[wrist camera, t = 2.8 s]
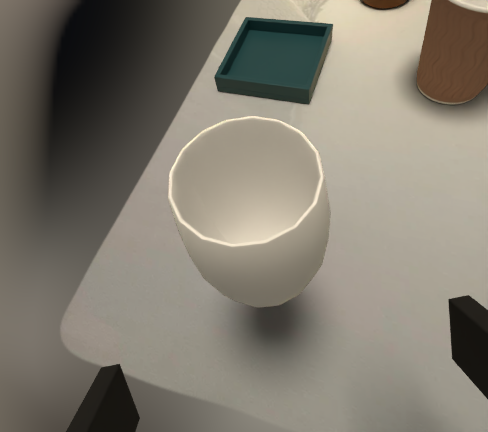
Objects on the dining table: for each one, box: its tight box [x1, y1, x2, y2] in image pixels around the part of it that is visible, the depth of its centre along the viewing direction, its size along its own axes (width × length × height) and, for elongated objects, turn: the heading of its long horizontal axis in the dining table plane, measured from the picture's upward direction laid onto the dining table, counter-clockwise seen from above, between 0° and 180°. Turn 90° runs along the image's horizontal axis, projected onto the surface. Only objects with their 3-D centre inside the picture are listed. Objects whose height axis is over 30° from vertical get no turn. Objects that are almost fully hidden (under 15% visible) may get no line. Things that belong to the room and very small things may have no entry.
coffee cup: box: [417, 0, 488, 104], centre depth 36 cm, size 10×10×12 cm
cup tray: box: [214, 17, 333, 104], centre depth 46 cm, size 12×12×2 cm
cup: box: [168, 116, 331, 308], centre depth 23 cm, size 7×7×21 cm
